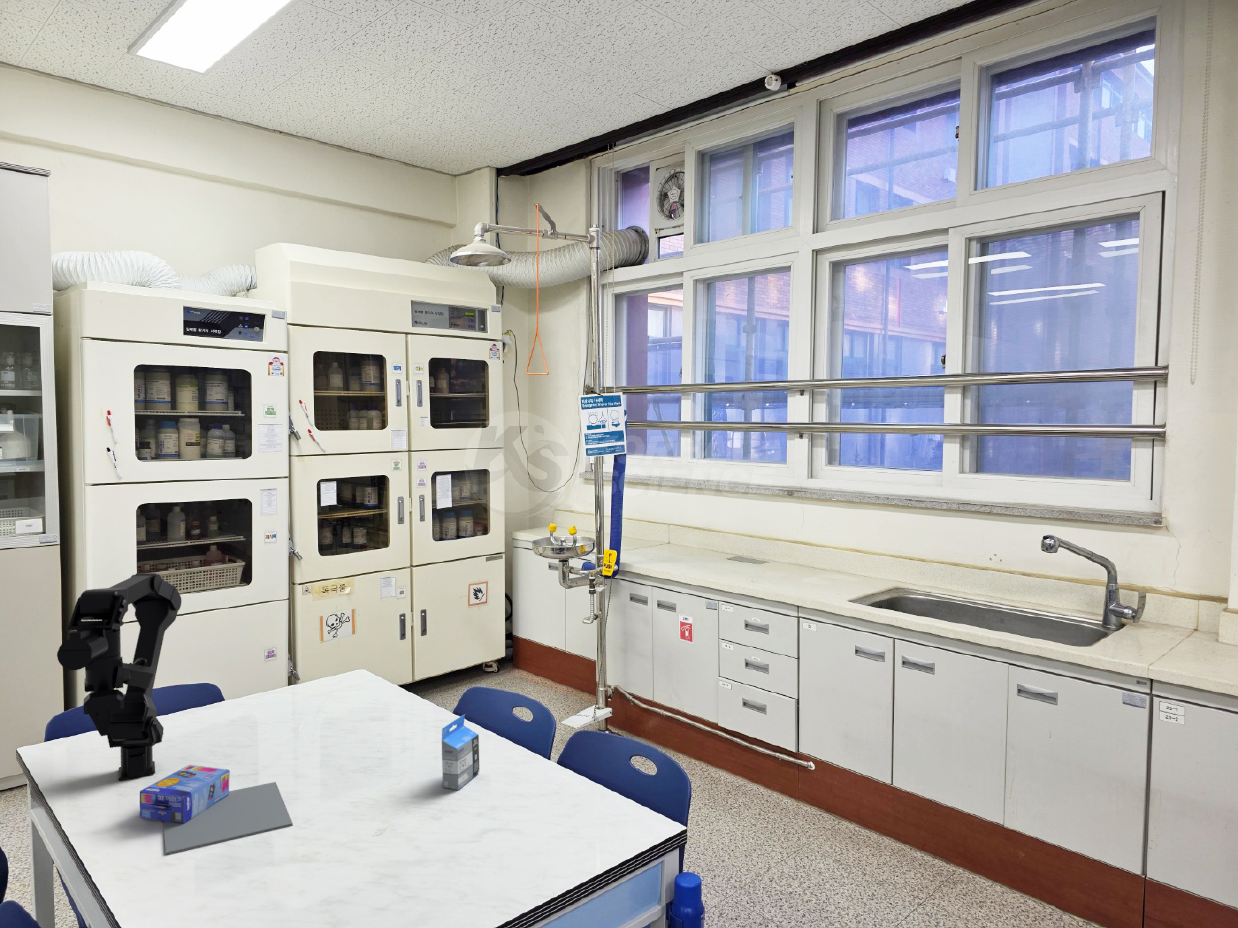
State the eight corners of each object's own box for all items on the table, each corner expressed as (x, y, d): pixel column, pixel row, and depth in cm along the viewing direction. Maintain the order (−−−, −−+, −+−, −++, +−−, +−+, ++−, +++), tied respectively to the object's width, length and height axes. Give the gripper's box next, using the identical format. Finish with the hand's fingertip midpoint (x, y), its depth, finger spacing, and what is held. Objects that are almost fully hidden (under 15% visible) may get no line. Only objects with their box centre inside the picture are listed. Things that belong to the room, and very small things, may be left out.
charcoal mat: (162, 806, 150) (162, 804, 150) (275, 783, 160) (275, 781, 160) (165, 854, 133) (165, 852, 133) (292, 825, 143) (292, 823, 143)
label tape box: (458, 790, 158) (458, 730, 158) (440, 787, 159) (441, 727, 159) (480, 773, 166) (480, 715, 166) (463, 770, 168) (463, 713, 167)
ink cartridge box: (230, 767, 154) (174, 802, 140) (231, 794, 154) (175, 832, 140) (186, 762, 156) (127, 796, 142) (187, 789, 156) (128, 826, 142)
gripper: (154, 660, 148) (155, 742, 148) (149, 638, 163) (150, 712, 164) (82, 669, 141) (84, 755, 142) (84, 645, 157) (85, 723, 158)
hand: (104, 735), depth 151 cm, fingers closed
